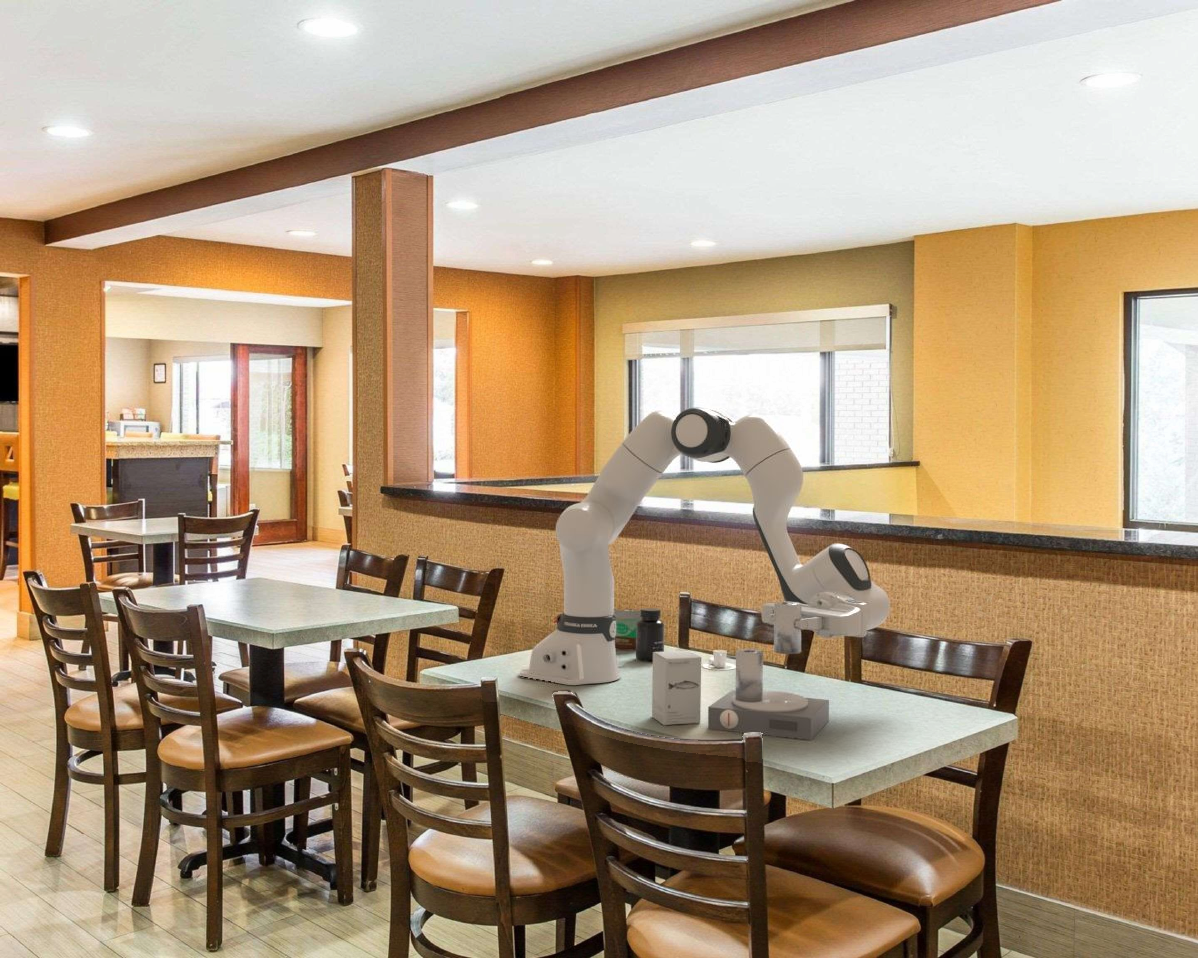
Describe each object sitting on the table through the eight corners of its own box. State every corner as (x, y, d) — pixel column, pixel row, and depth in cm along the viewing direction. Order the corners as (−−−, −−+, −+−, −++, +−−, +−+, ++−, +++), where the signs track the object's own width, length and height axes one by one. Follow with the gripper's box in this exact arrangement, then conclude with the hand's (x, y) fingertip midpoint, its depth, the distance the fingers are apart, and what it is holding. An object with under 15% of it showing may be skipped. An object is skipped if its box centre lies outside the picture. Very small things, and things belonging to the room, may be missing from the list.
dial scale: (707, 728, 208) (707, 702, 207) (731, 710, 222) (732, 686, 221) (810, 740, 200) (810, 713, 200) (828, 720, 214) (829, 695, 214)
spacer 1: (732, 700, 209) (732, 652, 209) (739, 695, 214) (740, 647, 214) (758, 703, 207) (759, 654, 207) (765, 697, 212) (766, 649, 212)
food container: (599, 649, 284) (599, 609, 284) (607, 644, 290) (607, 605, 289) (646, 652, 280) (647, 612, 280) (653, 648, 286) (654, 608, 285)
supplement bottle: (661, 662, 268) (662, 612, 267) (633, 661, 269) (633, 610, 269) (666, 657, 274) (666, 607, 274) (638, 655, 276) (638, 606, 275)
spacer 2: (770, 652, 210) (771, 604, 210) (777, 648, 215) (778, 600, 214) (797, 654, 208) (797, 606, 208) (803, 650, 213) (804, 602, 212)
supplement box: (664, 726, 209) (664, 658, 209) (651, 716, 216) (651, 650, 216) (701, 723, 211) (702, 656, 211) (687, 714, 219) (688, 649, 218)
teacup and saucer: (708, 663, 269) (708, 646, 269) (741, 665, 267) (741, 648, 266) (698, 670, 261) (698, 652, 261) (731, 673, 258) (731, 655, 258)
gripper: (787, 592, 228) (742, 599, 218) (874, 604, 212) (828, 611, 203) (787, 623, 228) (741, 631, 219) (873, 637, 213) (828, 646, 203)
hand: (784, 622), depth 211 cm, fingers closed on spacer 2, 5 cm apart
